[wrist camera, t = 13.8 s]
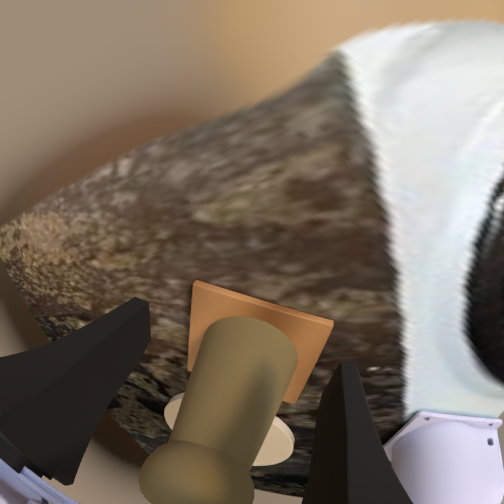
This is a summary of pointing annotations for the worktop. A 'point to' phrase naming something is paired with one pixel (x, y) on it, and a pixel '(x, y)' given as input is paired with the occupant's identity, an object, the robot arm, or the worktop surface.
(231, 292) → the cork trivet
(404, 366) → the worktop surface
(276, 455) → the plate
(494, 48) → the worktop surface
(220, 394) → the pepper shaker
